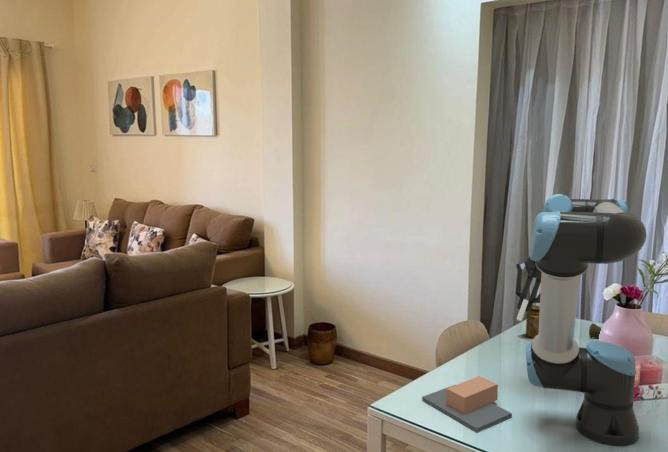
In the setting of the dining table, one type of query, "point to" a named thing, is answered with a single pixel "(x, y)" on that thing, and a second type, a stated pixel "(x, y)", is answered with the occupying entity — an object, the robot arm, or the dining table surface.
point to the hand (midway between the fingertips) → (519, 320)
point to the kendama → (594, 330)
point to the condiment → (531, 324)
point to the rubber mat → (473, 419)
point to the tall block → (471, 394)
